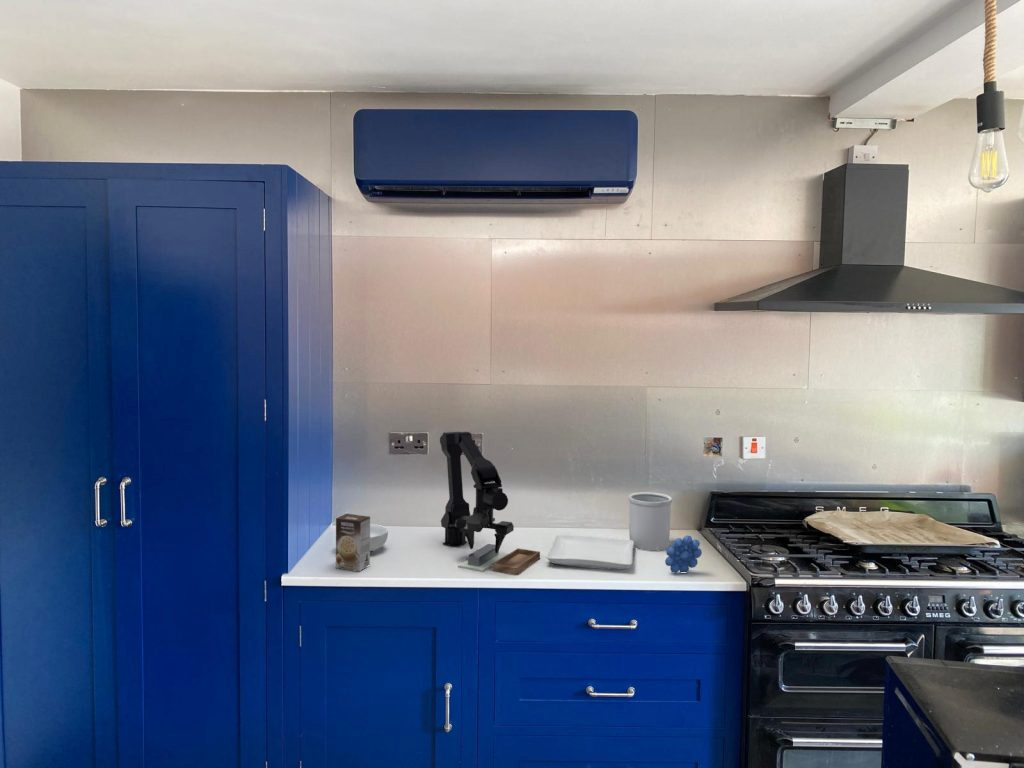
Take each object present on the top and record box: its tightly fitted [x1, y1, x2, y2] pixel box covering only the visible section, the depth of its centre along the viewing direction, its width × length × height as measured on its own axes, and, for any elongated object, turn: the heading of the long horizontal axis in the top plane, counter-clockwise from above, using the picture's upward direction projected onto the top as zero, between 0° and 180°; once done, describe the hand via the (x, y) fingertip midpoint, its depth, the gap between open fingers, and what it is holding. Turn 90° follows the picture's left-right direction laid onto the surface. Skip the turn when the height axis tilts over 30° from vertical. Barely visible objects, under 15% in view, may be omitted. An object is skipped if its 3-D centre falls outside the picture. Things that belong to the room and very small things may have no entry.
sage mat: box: [457, 551, 509, 572], centre depth 216 cm, size 9×18×1 cm, turn 155°
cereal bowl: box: [370, 523, 389, 552], centre depth 226 cm, size 17×17×7 cm
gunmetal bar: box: [467, 543, 500, 567], centre depth 216 cm, size 4×14×3 cm, turn 155°
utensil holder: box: [628, 491, 673, 552], centre depth 235 cm, size 15×15×18 cm
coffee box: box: [335, 513, 371, 572], centre depth 209 cm, size 9×6×16 cm
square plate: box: [545, 534, 634, 570], centre depth 221 cm, size 27×27×4 cm
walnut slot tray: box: [492, 548, 541, 576], centre depth 213 cm, size 8×18×2 cm, turn 155°
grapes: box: [664, 535, 703, 573], centre depth 207 cm, size 12×7×12 cm, turn 96°
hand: (484, 550), depth 216 cm, fingers open, 9 cm apart
